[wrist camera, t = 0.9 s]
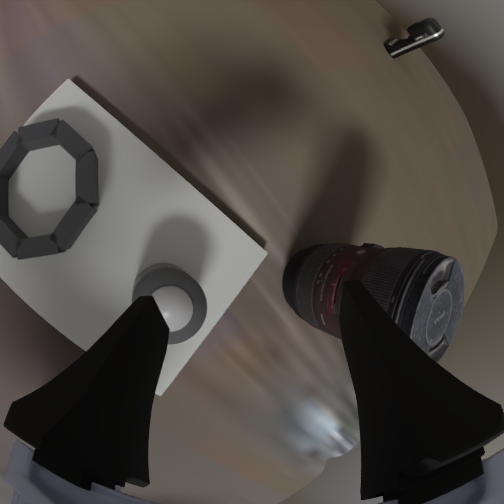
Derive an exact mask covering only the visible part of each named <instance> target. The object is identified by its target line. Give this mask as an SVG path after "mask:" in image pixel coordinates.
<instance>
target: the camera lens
mask: <svg viewBox="0 0 504 504" xmlns="http://www.w3.org/2000/svg"><path fill="white" fill-rule="evenodd" d="M352 280H360V281H361V282H362V283H363V285H364V286H365V287H366V288H367V289H368V291H369V292H370V293H371V294H372V296H373V297H374V298H375V299H376V300H377V302H378V303H379V304H380V305H381V306H382V308H383V309H384V310H385V311H386V312H387V313H388V314H389V316H390V317H391V318H392V319H393V320H394V321H395V322H396V324H397V325H398V326H399V327H400V328H401V329H402V330H403V331H404V332H405V333H406V334H407V335H408V336H409V337H410V338H411V339H412V340H413V341H414V342H415V343H416V344H417V345H418V346H419V347H420V348H421V349H422V350H423V351H424V352H425V353H426V354H427V355H428V356H430V357H431V358H432V359H433V360H434V361H435V362H437V363H438V362H439V361H440V359H441V358H442V357H443V355H444V354H445V352H446V351H447V349H448V347H449V345H450V343H451V341H452V340H453V337H454V335H455V333H456V330H457V328H458V324H459V321H460V318H461V314H462V309H463V302H464V293H465V283H464V274H463V270H462V267H461V265H460V263H459V262H458V260H457V259H455V258H454V257H449V256H445V255H443V254H440V253H439V252H437V251H432V250H422V249H413V248H404V247H397V248H384V247H382V246H380V245H377V244H368V243H364V244H363V245H362V246H355V245H351V244H342V243H332V244H320V245H315V246H313V247H311V248H309V249H305V250H302V251H301V252H299V253H298V254H296V255H295V256H294V257H293V258H292V259H291V261H290V262H289V264H288V266H287V267H286V270H285V273H284V277H283V293H284V297H285V299H286V301H287V303H288V304H289V306H290V307H291V308H292V309H293V310H294V311H295V313H296V314H297V315H298V316H299V317H300V318H302V319H303V320H305V321H306V322H307V323H309V324H310V325H311V326H313V327H315V328H317V329H319V330H321V331H323V332H325V333H328V334H330V335H333V336H335V337H337V338H339V339H341V340H342V337H341V331H340V324H339V314H340V305H341V296H342V286H343V281H352Z"/></svg>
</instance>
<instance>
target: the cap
mask: <svg viewBox="0 0 504 504" xmlns="http://www.w3.org/2000/svg"><path fill="white" fill-rule="evenodd" d="M139 296H153V297H154V299H155V301H156V303H157V305H158V307H159V309H160V311H161V313H162V315H163V317H164V319H165V321H166V323H167V325H168V327H169V329H170V332H169V339H168V344H178V343H181V342H184V341H186V340H188V339H190V338H191V337H193V336H194V335H195V334H196V333H197V332H198V331H199V330H200V328H201V327H202V325H203V323H204V321H205V318H206V314H207V301H206V296H205V293H204V291H203V289H202V288H201V286H200V285H199V284H198V282H197V281H196V280H194V279H193V278H192V277H191V276H190V275H189V274H187V273H186V272H185V271H184V270H183V269H181V268H180V267H178V266H176V265H173V264H169V263H158V264H154V265H151V266H149V267H147V268H146V269H144V270H143V271H142V272H141V273H140V274H139V275H138V277H137V279H136V280H135V283H134V286H133V291H132V303H133V302H134V301H135V300H136V299H137V298H138V297H139Z"/></svg>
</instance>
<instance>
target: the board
mask: <svg viewBox="0 0 504 504" xmlns="http://www.w3.org/2000/svg"><path fill="white" fill-rule="evenodd" d="M267 254H268V253H267V252H266V251H265V250H264V249H263V248H261V247H260V246H259V245H258V244H257V243H256V242H255V241H254V240H253V239H251V238H250V237H249V236H248V235H247V234H246V233H245V232H244V231H242V230H241V229H240V228H239V227H238V226H237V225H236V224H235V223H234V222H232V221H231V220H230V219H229V218H228V217H227V216H226V215H225V214H223V213H222V212H221V211H220V210H219V209H218V208H217V207H216V206H214V205H213V204H212V203H211V202H210V201H209V200H208V199H207V198H205V197H204V196H203V195H202V194H201V193H200V192H199V191H198V190H196V189H195V188H194V187H193V186H192V185H191V184H190V183H188V182H187V181H186V180H185V179H184V178H183V177H182V176H181V175H179V174H178V173H177V172H176V171H175V170H174V169H173V168H171V167H170V166H169V165H168V164H167V163H166V162H165V161H163V160H162V159H161V158H160V157H159V156H158V155H157V154H155V153H154V152H153V151H152V150H151V149H150V148H149V147H147V146H146V145H145V144H144V143H143V142H142V141H141V140H139V139H138V138H137V137H136V136H135V135H134V134H132V133H131V132H130V131H129V130H128V129H127V128H126V127H124V126H123V125H122V124H121V123H120V122H119V121H117V120H116V119H115V118H114V117H113V116H112V115H110V114H109V113H108V112H107V111H106V110H105V109H104V108H102V107H101V106H100V105H99V104H98V103H97V102H95V101H94V100H93V99H92V98H91V97H89V96H88V95H87V94H86V93H85V92H84V91H82V90H81V89H80V88H79V87H78V86H77V85H75V84H74V83H73V82H72V81H71V80H69V79H67V80H66V81H65V82H64V83H63V84H62V85H61V86H60V87H59V88H58V89H57V90H56V91H55V92H54V93H53V94H52V95H51V96H50V97H49V98H48V99H47V100H46V101H45V102H44V103H43V104H42V105H41V106H40V107H39V108H38V109H37V110H36V111H35V113H34V114H33V115H32V116H31V117H30V118H29V119H28V121H27V122H26V123H25V124H24V125H23V126H22V127H19V129H18V133H17V132H15V131H14V132H13V133H12V134H11V136H10V137H9V138H8V140H7V141H6V142H5V144H4V145H3V146H2V148H1V149H0V278H1V279H2V280H3V281H4V282H5V283H6V284H7V285H8V286H9V287H10V288H11V289H12V290H13V291H14V292H15V293H16V294H17V295H18V296H19V297H20V298H21V299H22V300H23V301H24V302H25V303H27V304H28V305H29V306H30V307H31V308H32V309H33V310H34V311H35V312H36V313H38V314H39V315H40V316H41V317H42V318H43V319H45V320H46V321H47V322H48V323H49V324H51V325H52V326H53V327H54V328H55V329H57V330H58V331H59V332H60V333H62V334H63V335H64V336H66V337H67V338H68V339H70V340H71V341H72V342H74V343H75V344H76V345H78V346H79V347H80V348H82V349H83V350H85V351H87V350H88V349H89V348H90V347H91V346H92V345H93V344H94V343H95V342H96V341H97V340H98V339H99V338H100V337H101V336H102V335H103V334H104V333H105V332H106V331H107V330H108V329H109V328H110V327H111V325H112V324H113V323H114V322H115V321H116V320H117V319H118V318H119V317H120V316H121V315H122V314H123V313H124V312H125V310H126V309H127V308H128V307H129V306H130V305H131V304H132V291H133V286H134V283H135V280H136V279H137V277H138V275H139V274H140V273H141V272H142V271H143V270H144V269H146V268H147V267H149V266H151V265H154V264H158V263H169V264H173V265H176V266H178V267H180V268H181V269H183V270H184V271H185V272H186V273H187V274H189V275H190V276H191V277H192V278H193V279H194V280H196V281H197V282H198V284H199V285H200V286H201V288H202V289H203V291H204V293H205V296H206V301H207V314H206V318H205V321H204V323H203V325H202V327H201V328H200V330H199V331H198V332H197V333H196V334H195V335H194V336H193V337H191V338H190V339H188V340H186V341H184V342H181V343H178V344H168V346H167V352H166V355H165V359H164V363H163V366H162V370H161V373H160V377H159V380H158V384H157V387H156V391H155V394H157V395H159V396H161V395H162V394H163V393H164V391H165V390H166V389H167V388H168V386H169V385H170V384H171V382H172V381H173V380H174V378H175V377H176V376H177V374H178V373H179V372H180V371H181V369H182V368H183V367H184V365H185V364H186V363H187V361H188V360H189V359H190V357H191V356H192V355H193V353H194V352H195V351H196V349H197V348H198V347H199V346H200V344H201V343H202V342H203V340H204V339H205V338H206V336H207V335H208V334H209V332H210V331H211V330H212V328H213V327H214V326H215V324H216V323H217V322H218V320H219V319H220V318H221V316H222V315H223V314H224V312H225V311H226V310H227V308H228V307H229V305H230V304H231V303H232V301H233V300H234V299H235V297H236V296H237V295H238V293H239V292H240V291H241V289H242V288H243V287H244V285H245V284H246V283H247V281H248V280H249V278H250V277H251V276H252V274H253V273H254V272H255V270H256V269H257V268H258V266H259V265H260V263H261V262H262V261H263V259H264V258H265V257H266V255H267Z"/></svg>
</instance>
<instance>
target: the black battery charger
mask: <svg viewBox="0 0 504 504" xmlns="http://www.w3.org/2000/svg"><path fill="white" fill-rule="evenodd" d="M407 30H408V32H409V34H410V36H408V38H407V39H396V38H392V39H390V40H389V41H388V42H386V43H385V47H386V49H387V50H388V51H389V53H390V55H391V56H392V57H393V58H397V57H399V56H401V55H403V54H405V53H408V52H410V51H412V50H415V49H417V48H419V47H422V46H424V45H427V44H429V43H432V42H434V41H437V40H439V39H441V38H442V37H443V36H444V34H445V32H444V30H443V28H441V26H440V25H439V23H438V22H437V21H436V20H435V19H434V18H427V19H424V20H421V21H419V22H416V23H414V24H412V25H411V26H409V27H408V29H407Z"/></svg>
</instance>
